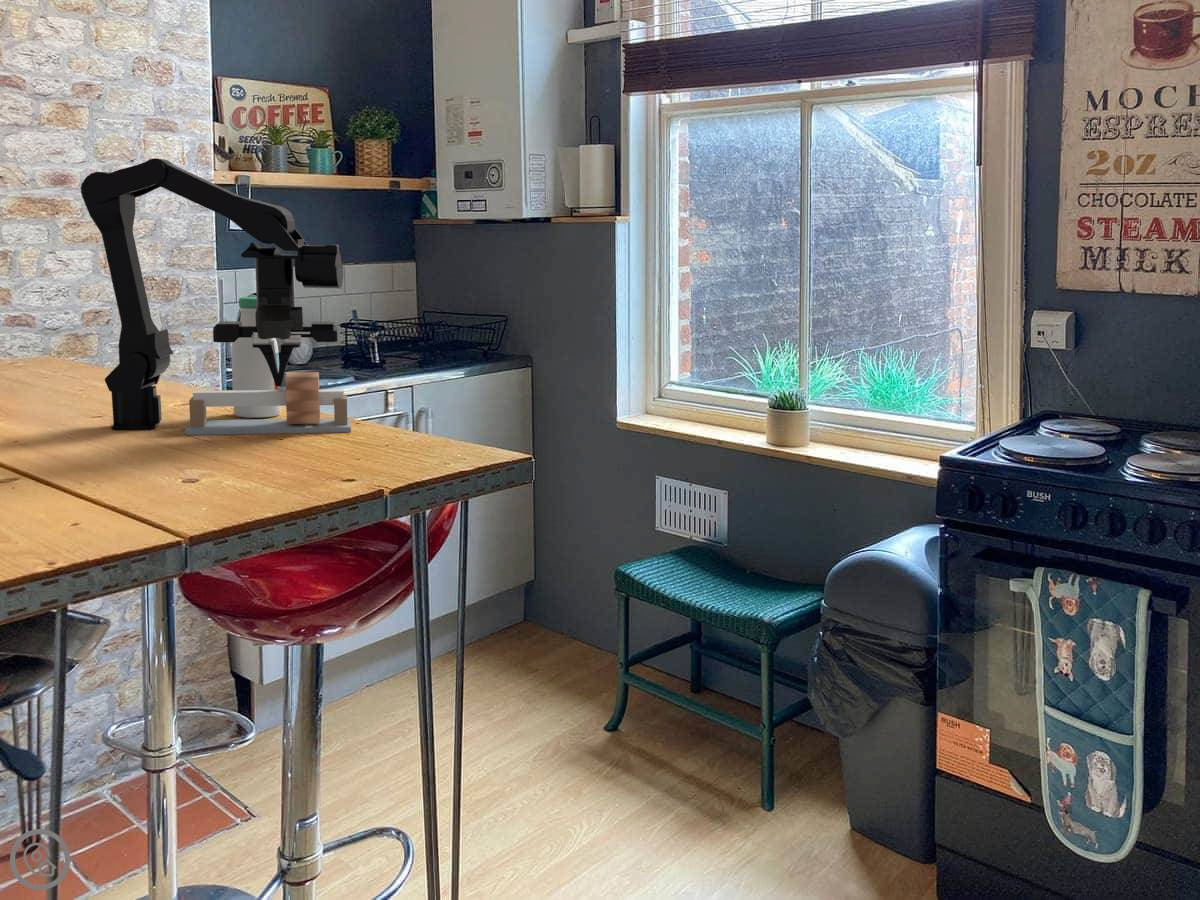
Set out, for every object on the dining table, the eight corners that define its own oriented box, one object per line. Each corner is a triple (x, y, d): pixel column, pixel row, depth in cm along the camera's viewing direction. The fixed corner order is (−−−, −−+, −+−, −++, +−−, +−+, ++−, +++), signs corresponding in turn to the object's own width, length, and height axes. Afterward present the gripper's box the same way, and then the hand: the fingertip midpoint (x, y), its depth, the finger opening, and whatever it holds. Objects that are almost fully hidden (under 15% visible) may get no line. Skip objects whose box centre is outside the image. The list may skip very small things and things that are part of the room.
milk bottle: (267, 420, 190) (263, 299, 186) (225, 417, 192) (219, 297, 188) (288, 412, 198) (285, 296, 194) (247, 410, 199) (243, 294, 195)
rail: (185, 434, 177) (183, 395, 175) (192, 425, 184) (190, 387, 183) (350, 432, 182) (349, 393, 181) (350, 423, 190) (349, 386, 188)
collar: (286, 423, 180) (285, 377, 179) (288, 417, 186) (287, 372, 185) (319, 423, 182) (318, 377, 180) (320, 416, 187) (318, 372, 186)
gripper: (206, 290, 169) (211, 394, 172) (335, 291, 173) (338, 393, 176) (214, 285, 180) (219, 383, 183) (336, 286, 184) (338, 382, 187)
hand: (278, 386), depth 182 cm, fingers closed
